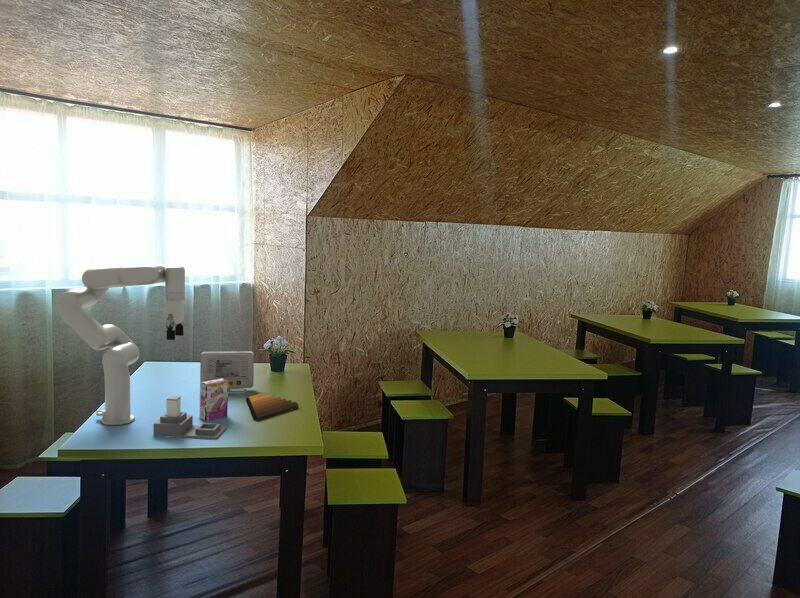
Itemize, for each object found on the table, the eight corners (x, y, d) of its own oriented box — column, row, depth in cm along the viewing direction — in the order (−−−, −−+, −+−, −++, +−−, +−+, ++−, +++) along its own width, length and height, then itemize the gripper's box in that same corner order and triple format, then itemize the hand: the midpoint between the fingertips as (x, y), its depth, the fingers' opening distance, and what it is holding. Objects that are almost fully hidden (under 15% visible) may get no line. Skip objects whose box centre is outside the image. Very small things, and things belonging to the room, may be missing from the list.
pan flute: (257, 422, 254) (298, 409, 274) (257, 414, 253) (298, 402, 274) (220, 410, 267) (261, 398, 288) (220, 402, 267) (261, 391, 288)
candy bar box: (205, 422, 249) (206, 384, 247) (199, 419, 252) (199, 382, 250) (228, 416, 258) (228, 379, 256) (221, 413, 261) (222, 377, 259)
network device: (253, 388, 303) (253, 350, 301) (253, 393, 295) (254, 354, 293) (201, 389, 297) (201, 350, 294) (199, 394, 288) (200, 354, 286)
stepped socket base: (153, 435, 230) (153, 418, 230) (166, 425, 242) (166, 409, 242) (216, 439, 230) (216, 421, 229) (226, 428, 242) (226, 412, 241)
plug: (166, 420, 234) (166, 398, 233) (170, 417, 238) (170, 395, 237) (176, 421, 234) (176, 399, 233) (180, 418, 238) (180, 396, 237)
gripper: (173, 293, 247) (173, 333, 249) (157, 298, 230) (157, 341, 232) (191, 294, 248) (191, 334, 250) (176, 299, 230) (176, 342, 232)
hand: (175, 337), depth 241 cm, fingers open, 9 cm apart
